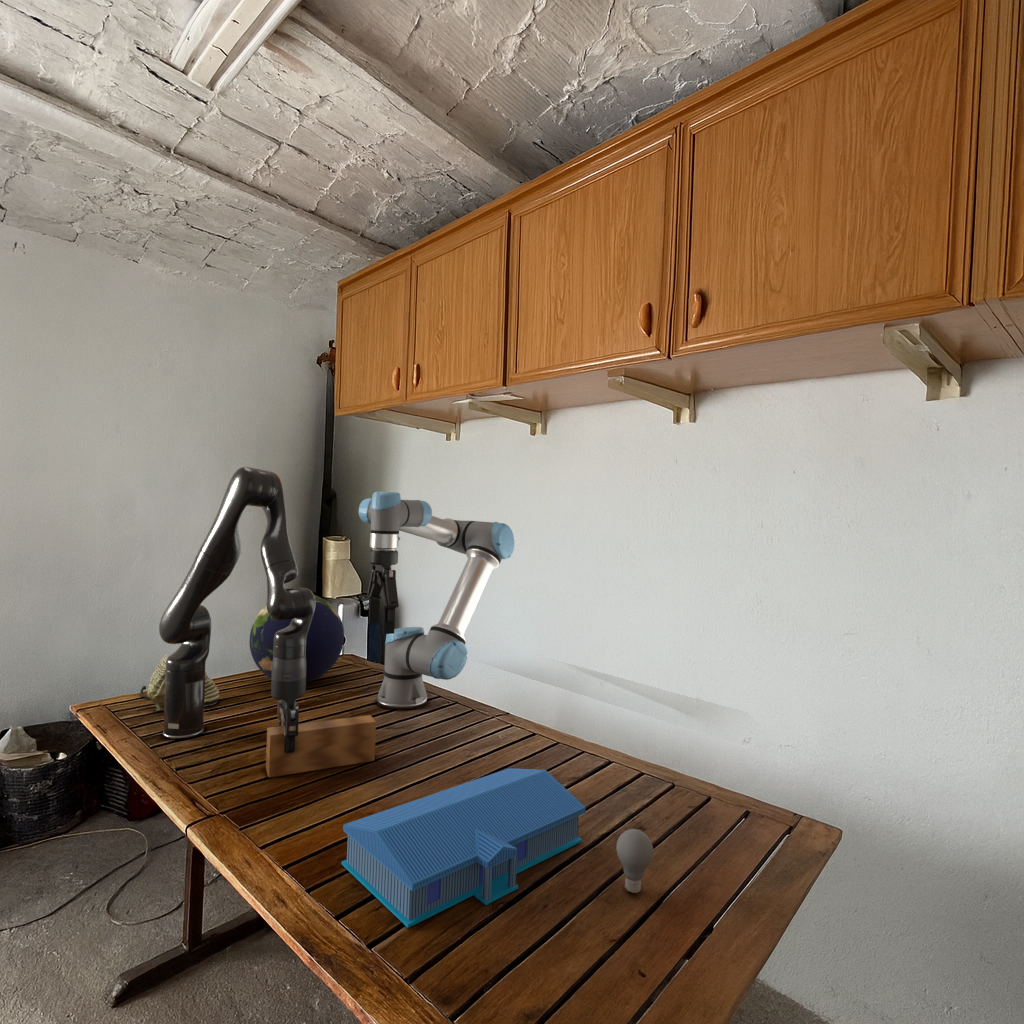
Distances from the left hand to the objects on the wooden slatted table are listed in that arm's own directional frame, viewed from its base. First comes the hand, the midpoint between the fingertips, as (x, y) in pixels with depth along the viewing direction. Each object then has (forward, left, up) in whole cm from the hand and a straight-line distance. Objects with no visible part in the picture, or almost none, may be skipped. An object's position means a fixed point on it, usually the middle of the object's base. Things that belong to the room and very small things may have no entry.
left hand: (286, 746), depth 145 cm
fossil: (-59, -5, -6) cm, 59 cm away
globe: (-62, +31, -6) cm, 70 cm away
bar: (+2, +8, -6) cm, 10 cm away
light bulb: (+79, +25, -6) cm, 83 cm away
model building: (+54, +11, -6) cm, 55 cm away
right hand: (-7, +28, +23) cm, 37 cm away
